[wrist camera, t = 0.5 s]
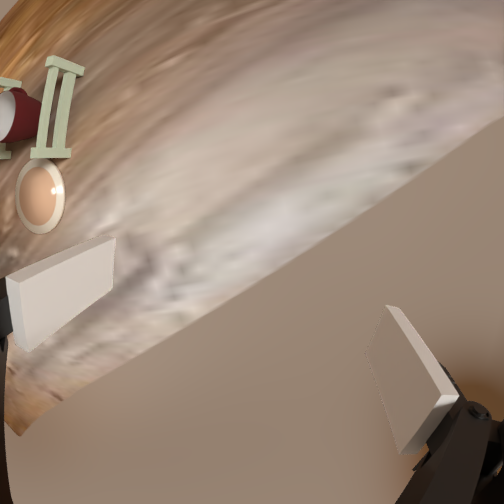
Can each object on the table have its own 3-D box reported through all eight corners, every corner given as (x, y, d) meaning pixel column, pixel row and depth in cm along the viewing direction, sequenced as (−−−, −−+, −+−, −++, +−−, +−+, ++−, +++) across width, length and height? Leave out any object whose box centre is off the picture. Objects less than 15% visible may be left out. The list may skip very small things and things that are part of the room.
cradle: (17, 82, 38) (-12, 77, 30) (84, 67, 37) (54, 55, 29) (6, 158, 42) (-24, 160, 34) (70, 157, 40) (36, 158, 33)
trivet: (19, 158, 41) (16, 158, 41) (68, 157, 40) (64, 157, 40) (18, 228, 45) (15, 229, 44) (65, 237, 44) (62, 239, 43)
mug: (19, 111, 39) (-20, 107, 30) (45, 79, 37) (6, 69, 28) (36, 153, 41) (-6, 154, 31) (63, 121, 39) (21, 115, 29)
